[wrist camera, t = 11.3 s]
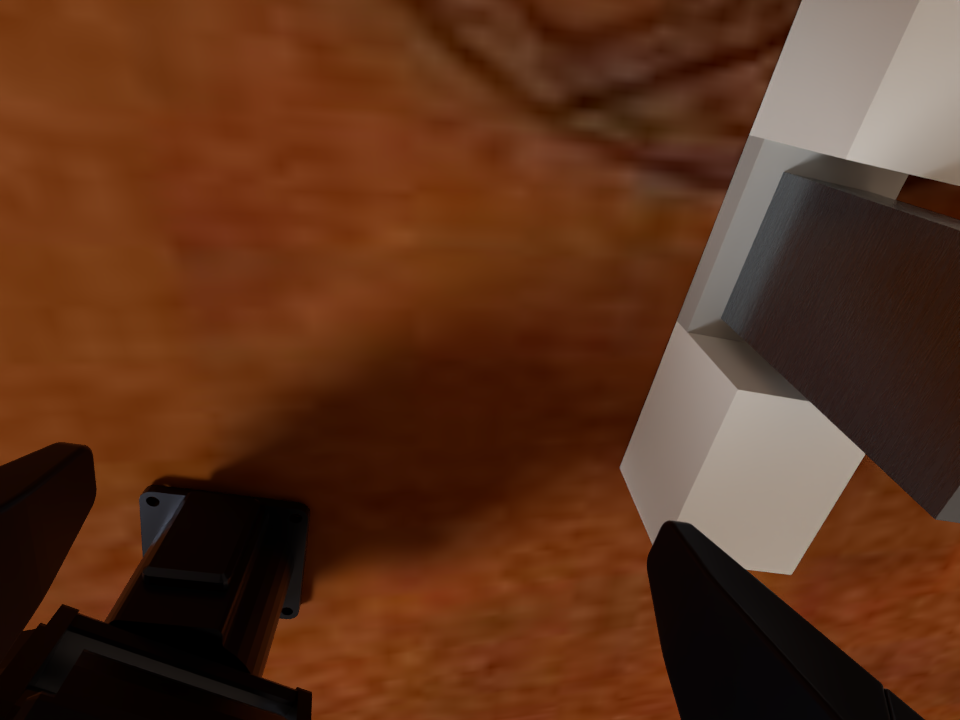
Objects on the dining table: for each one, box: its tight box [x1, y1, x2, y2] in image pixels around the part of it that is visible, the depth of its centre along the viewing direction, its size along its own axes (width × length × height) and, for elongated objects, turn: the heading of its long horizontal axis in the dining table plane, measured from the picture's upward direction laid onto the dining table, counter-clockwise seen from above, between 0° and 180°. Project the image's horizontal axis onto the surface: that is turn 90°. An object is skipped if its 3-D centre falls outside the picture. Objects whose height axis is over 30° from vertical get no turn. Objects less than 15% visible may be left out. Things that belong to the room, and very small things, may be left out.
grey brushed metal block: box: [721, 172, 960, 523], centre depth 15 cm, size 5×3×10 cm, turn 168°
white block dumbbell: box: [620, 0, 960, 575], centre depth 18 cm, size 20×5×5 cm, turn 168°
